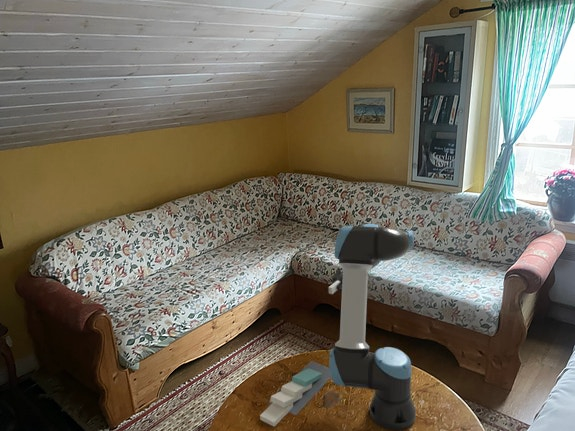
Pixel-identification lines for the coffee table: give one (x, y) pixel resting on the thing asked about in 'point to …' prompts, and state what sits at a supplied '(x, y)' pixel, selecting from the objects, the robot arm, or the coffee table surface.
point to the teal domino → (306, 377)
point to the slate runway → (315, 386)
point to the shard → (331, 398)
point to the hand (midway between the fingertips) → (330, 290)
